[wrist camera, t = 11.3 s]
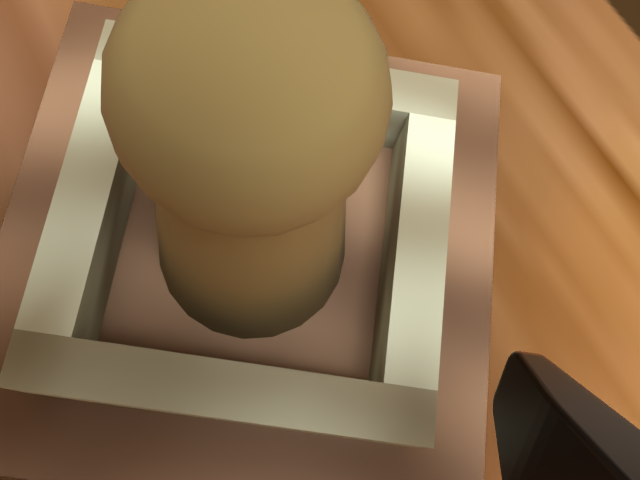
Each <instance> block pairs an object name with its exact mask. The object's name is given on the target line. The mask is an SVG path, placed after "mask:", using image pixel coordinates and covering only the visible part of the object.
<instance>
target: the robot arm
mask: <svg viewBox="0 0 640 480" xmlns="http://www.w3.org/2000/svg"><path fill="white" fill-rule="evenodd" d="M493 415H494V423H495V430H496V438H497V445H498V452H499V460H500V467H501V475H502V480H640V430H639V429H638V428H637V427H636V426H634V425H633V424H632V423H630V422H629V421H628V420H626V419H625V418H624V417H623V416H621V415H620V414H619V413H617V412H616V411H615V410H613V409H612V408H611V407H609V406H608V405H607V404H606V403H604V402H603V401H602V400H600V399H599V398H598V397H596V396H595V395H594V394H593V393H591V392H590V391H589V390H587V389H586V388H585V387H583V386H582V385H581V384H579V383H578V382H577V381H576V380H574V379H573V378H572V377H570V376H569V375H568V374H566V373H565V372H564V371H563V370H561V369H560V368H559V367H557V366H556V365H555V364H553V363H552V362H551V361H549V360H548V359H547V358H546V357H544V356H543V355H540V354H535V353H528V352H521V351H515V352H513V353H512V354H511V355H510V356H509V358H508V360H507V363H506V365H505V368H504V371H503V373H502V376H501V379H500V382H499V384H498V387H497V390H496V392H495V395H494V400H493Z"/></svg>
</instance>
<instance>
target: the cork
mask: <svg viewBox="0 0 640 480" xmlns="http://www.w3.org/2000/svg"><path fill="white" fill-rule="evenodd" d="M392 106H393V98H392V84H391V77H390V69H389V62H388V54H387V49H386V47H385V45H384V43H383V41H382V39H381V37H380V35H379V33H378V31H377V29H376V27H375V25H374V23H373V21H372V19H371V17H370V16H369V14H368V13H367V11H366V10H365V8H364V7H363V6H362V4H361V3H360V2H359V1H358V0H129V2H128V3H127V4H126V5H125V6H124V8H123V9H122V11H121V12H120V13H119V15H118V16H117V18H116V21H115V23H114V25H113V28H112V30H111V33H110V35H109V37H108V40H107V42H106V44H105V47H104V49H103V52H102V68H101V114H102V117H103V120H104V123H105V125H106V128H107V131H108V134H109V137H110V140H111V142H112V145H113V148H114V151H115V153H116V155H117V157H118V159H119V161H120V162H121V164H122V166H123V167H124V169H125V170H126V171H127V172H128V173H129V175H130V176H131V177H132V178H133V180H134V181H135V182H136V183H137V184H138V186H139V187H140V188H141V189H142V190H143V192H144V193H145V194H146V195H147V197H148V198H149V199H150V200H151V201H153V202H155V205H156V218H157V232H158V246H159V259H160V267H161V270H162V273H163V276H164V279H165V281H166V284H167V287H168V290H169V293H170V294H171V295H172V296H173V298H174V299H175V300H176V301H177V303H178V304H179V305H180V306H181V308H182V309H183V310H184V311H185V313H186V314H187V315H188V316H189V317H191V318H193V319H194V320H196V321H197V322H199V323H200V324H202V325H204V326H205V327H207V328H208V329H210V330H211V331H213V332H217V333H221V334H225V335H229V336H233V337H237V338H241V339H250V338H265V337H274V336H277V335H279V334H282V333H284V332H287V331H289V330H292V329H294V328H297V327H299V326H301V325H303V324H304V323H305V322H306V321H307V320H309V319H310V318H311V317H312V316H313V315H315V314H316V313H317V312H318V311H319V310H320V309H322V308H323V307H324V305H325V304H326V302H327V300H328V299H329V297H330V296H331V294H332V292H333V291H334V289H335V288H336V286H337V284H338V282H339V278H340V274H341V269H342V265H343V261H344V256H345V223H346V199H347V198H348V197H349V196H351V195H352V194H353V193H355V192H356V190H357V189H358V187H359V186H360V184H361V183H362V181H363V180H364V178H365V177H366V175H367V173H368V172H369V170H370V169H371V167H372V166H373V164H374V163H375V161H376V159H377V158H378V156H379V154H380V151H381V149H382V147H383V145H384V142H385V138H386V133H387V129H388V124H389V120H390V115H391V111H392Z"/></svg>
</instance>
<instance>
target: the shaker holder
mask: <svg viewBox="0 0 640 480" xmlns="http://www.w3.org/2000/svg"><path fill="white" fill-rule="evenodd" d="M121 11H122V9H117V8H111V7H105V6H99V5H94V4H88V3H82V2H76V1H74V3H73V6H72V9H71V12H70V15H69V18H68V21H67V24H66V27H65V31H64V34H63V37H62V40H61V43H60V46H59V49H58V52H57V55H56V59H55V62H54V65H53V68H52V71H51V74H50V77H49V80H48V83H47V87H46V90H45V93H44V96H43V99H42V102H41V105H40V108H39V111H38V115H37V118H36V121H35V124H34V127H33V130H32V133H31V136H30V139H29V142H28V146H27V149H26V152H25V155H24V158H23V161H22V164H21V167H20V170H19V174H18V177H17V180H16V183H15V186H14V189H13V192H12V195H11V198H10V202H9V205H8V208H7V211H6V214H5V217H4V220H3V223H2V226H1V229H0V476H4V477H11V478H19V479H26V480H484V470H485V446H486V422H487V397H488V373H489V349H490V325H491V301H492V277H493V253H494V229H495V205H496V181H497V157H498V133H499V109H500V85H501V75H495V74H490V73H484V72H478V71H472V70H467V69H461V68H455V67H449V66H444V65H438V64H432V63H427V62H421V61H415V60H409V59H404V58H398V57H392V56H388V62H389V69H390V77H391V84H392V98H393V106H392V111H391V115H390V120H389V124H388V129H387V133H386V138H385V142H384V145H383V147H382V149H381V151H380V154H379V156H378V158H377V159H376V161H375V163H374V164H373V166H372V167H371V169H370V170H369V172H368V173H367V175H366V177H365V178H364V180H363V181H362V183H361V184H360V186H359V187H358V189H357V190H356V192H355V193H353V194H352V195H351V196H349V197H348V198H347V199H346V223H345V256H344V261H343V265H342V269H341V274H340V278H339V282H338V284H337V286H336V288H335V289H334V291H333V292H332V294H331V296H330V297H329V299H328V300H327V302H326V304H325V305H324V307H323V308H322V309H320V310H319V311H318V312H317V313H316V314H315V315H313V316H312V317H311V318H310V319H309V320H307V321H306V322H305V323H304V324H303V325H301V326H299V327H297V328H294V329H292V330H289V331H287V332H284V333H282V334H279V335H277V336H274V337H265V338H250V339H241V338H237V337H233V336H229V335H225V334H221V333H217V332H213V331H211V330H210V329H208V328H207V327H205V326H204V325H202V324H200V323H199V322H197V321H196V320H194V319H193V318H191V317H189V316H188V315H187V314H186V313H185V311H184V310H183V309H182V308H181V306H180V305H179V304H178V303H177V301H176V300H175V299H174V298H173V296H172V295H171V294H170V293H169V290H168V287H167V284H166V281H165V279H164V276H163V273H162V270H161V267H160V259H159V246H158V232H157V218H156V205H155V202H153V201H151V200H150V199H149V198H148V197H147V195H146V194H145V193H144V192H143V190H142V189H141V188H140V187H139V186H138V184H137V183H136V182H135V181H134V180H133V178H132V177H131V176H130V175H129V173H128V172H127V171H126V170H125V169H124V167H123V166H122V164H121V162H120V161H119V159H118V157H117V155H116V153H115V151H114V148H113V145H112V142H111V140H110V137H109V134H108V131H107V128H106V125H105V123H104V120H103V117H102V114H101V68H102V52H103V49H104V47H105V44H106V42H107V40H108V37H109V35H110V33H111V30H112V28H113V25H114V23H115V21H116V18H117V16H118V15H119V13H120V12H121Z"/></svg>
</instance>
